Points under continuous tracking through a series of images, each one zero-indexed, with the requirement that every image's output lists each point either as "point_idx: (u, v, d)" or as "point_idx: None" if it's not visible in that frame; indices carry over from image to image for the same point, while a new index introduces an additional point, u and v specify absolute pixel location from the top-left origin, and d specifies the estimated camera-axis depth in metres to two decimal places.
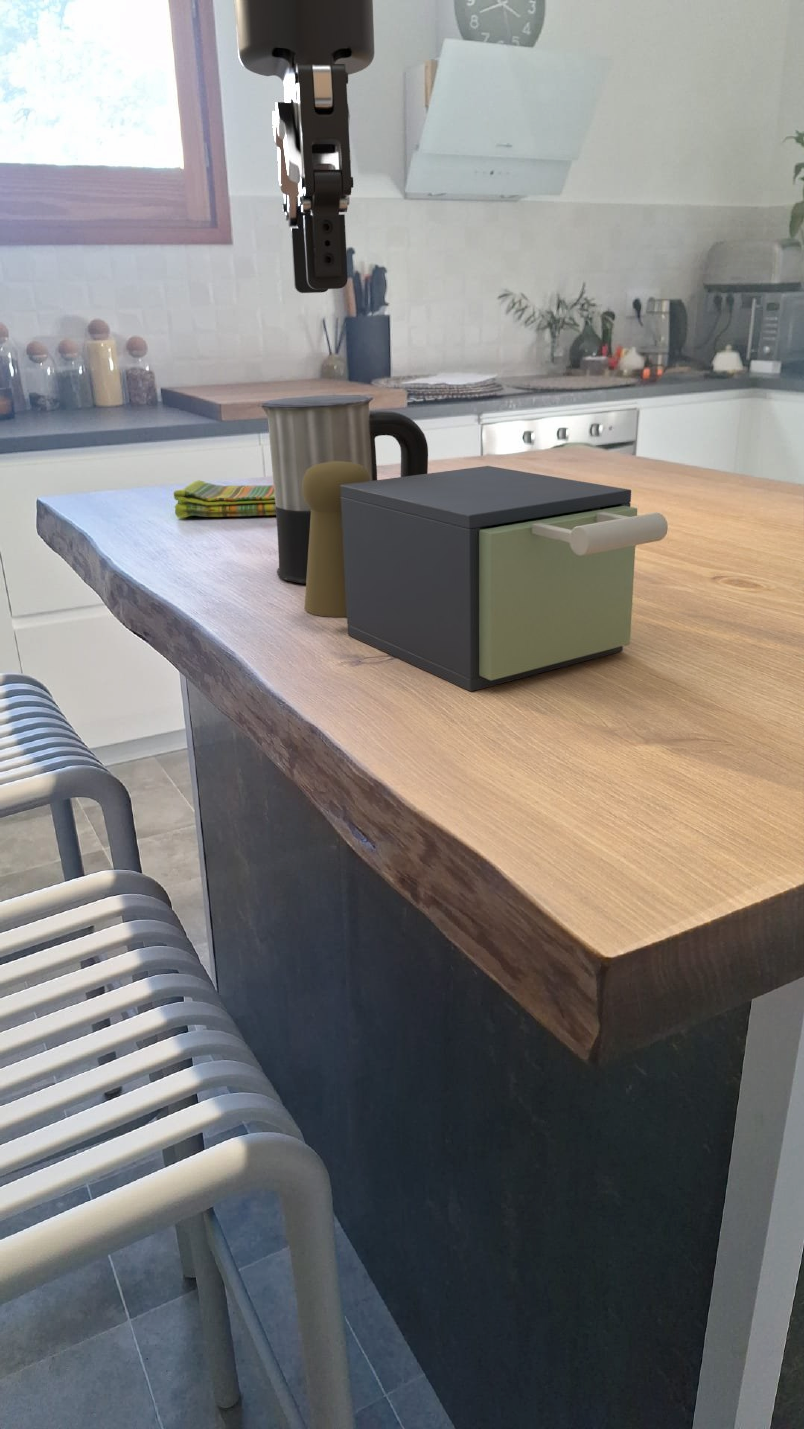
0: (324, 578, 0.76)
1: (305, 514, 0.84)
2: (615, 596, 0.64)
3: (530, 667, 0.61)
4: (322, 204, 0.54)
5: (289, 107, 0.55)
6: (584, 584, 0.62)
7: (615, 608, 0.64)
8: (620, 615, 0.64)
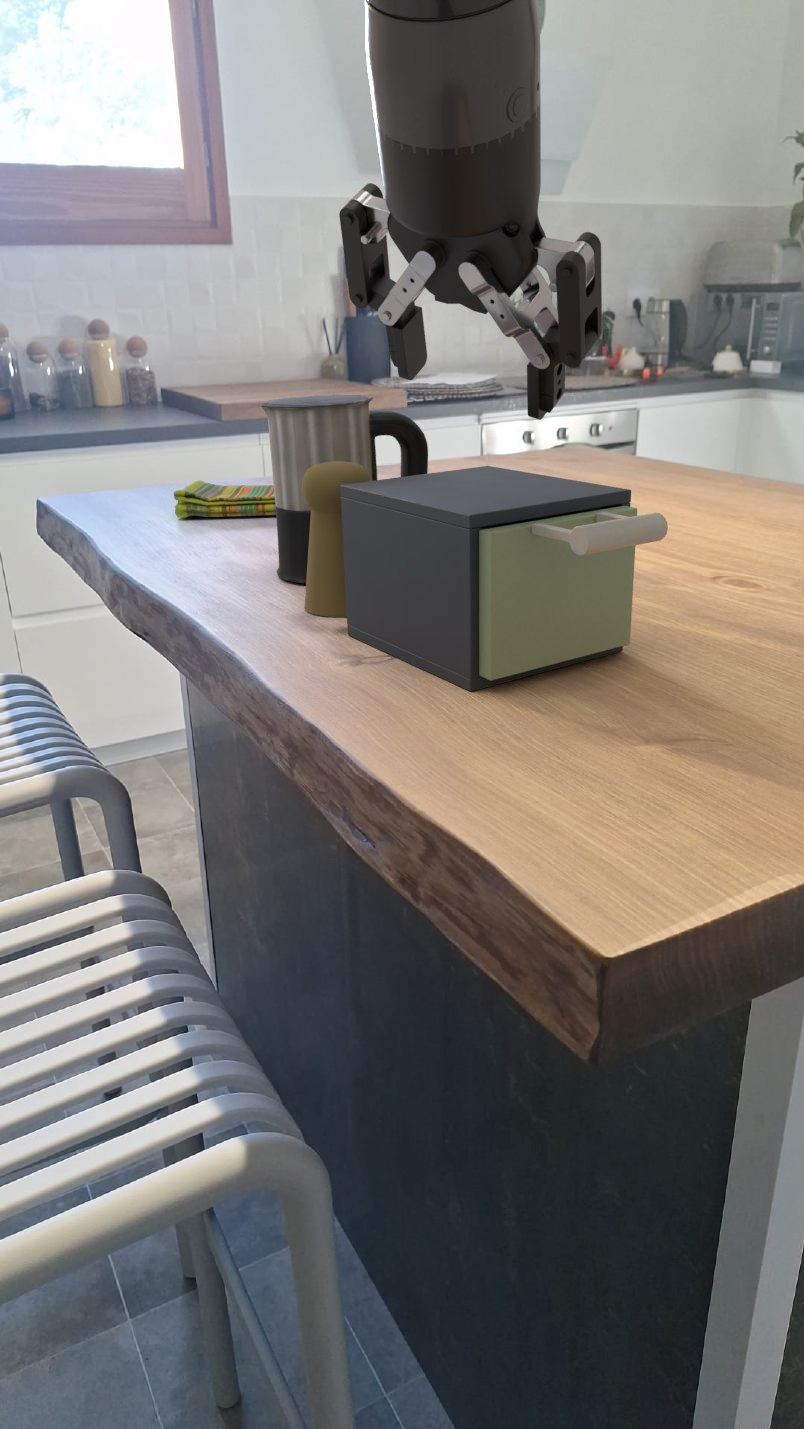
0: (324, 578, 0.76)
1: (305, 514, 0.84)
2: (615, 596, 0.64)
3: (530, 667, 0.61)
4: None
5: (485, 264, 0.50)
6: (584, 584, 0.62)
7: (615, 608, 0.64)
8: (620, 615, 0.64)
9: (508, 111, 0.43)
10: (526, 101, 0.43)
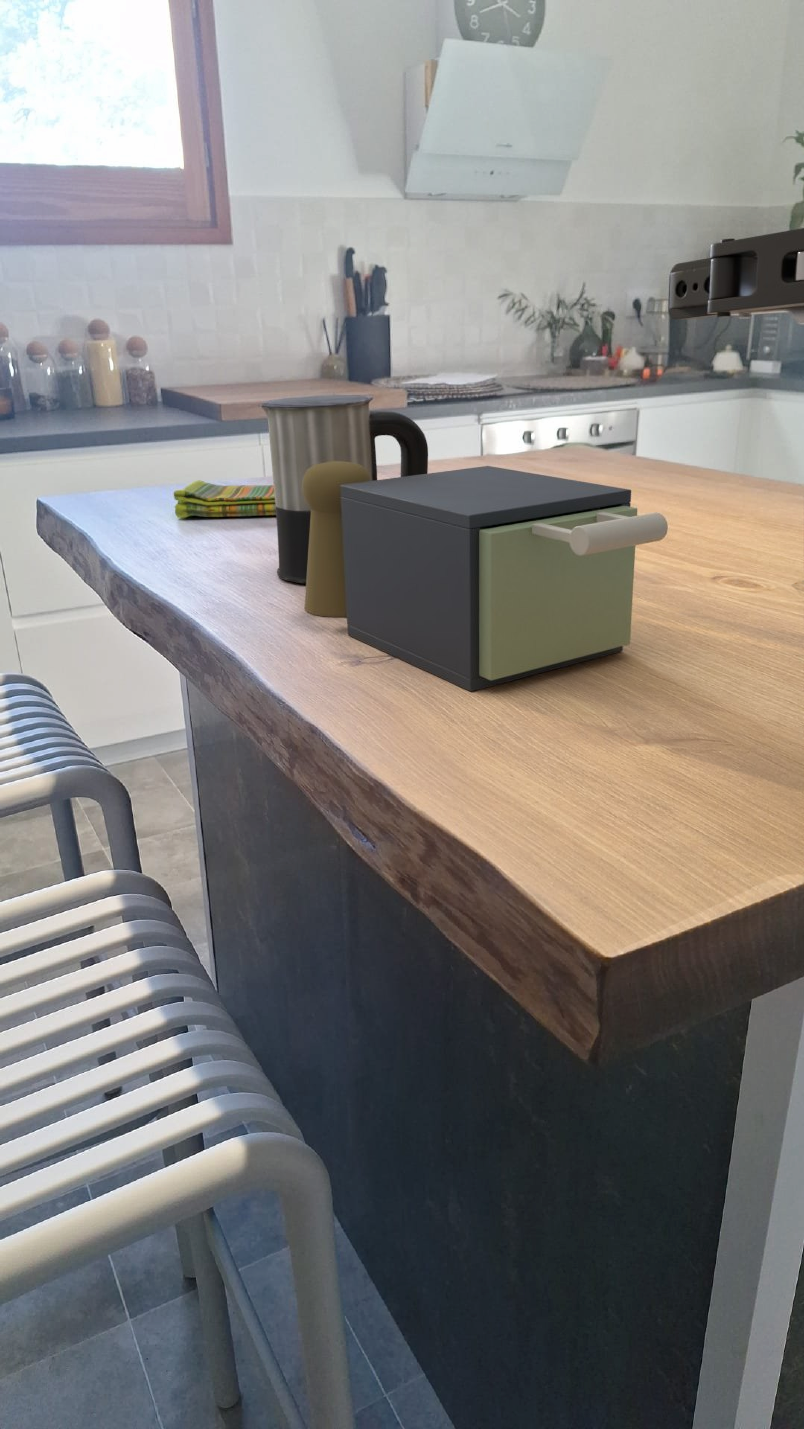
0: (324, 578, 0.76)
1: (305, 514, 0.84)
2: (615, 596, 0.64)
3: (530, 667, 0.61)
4: None
5: None
6: (584, 584, 0.62)
7: (615, 608, 0.64)
8: (620, 615, 0.64)
9: None
10: None
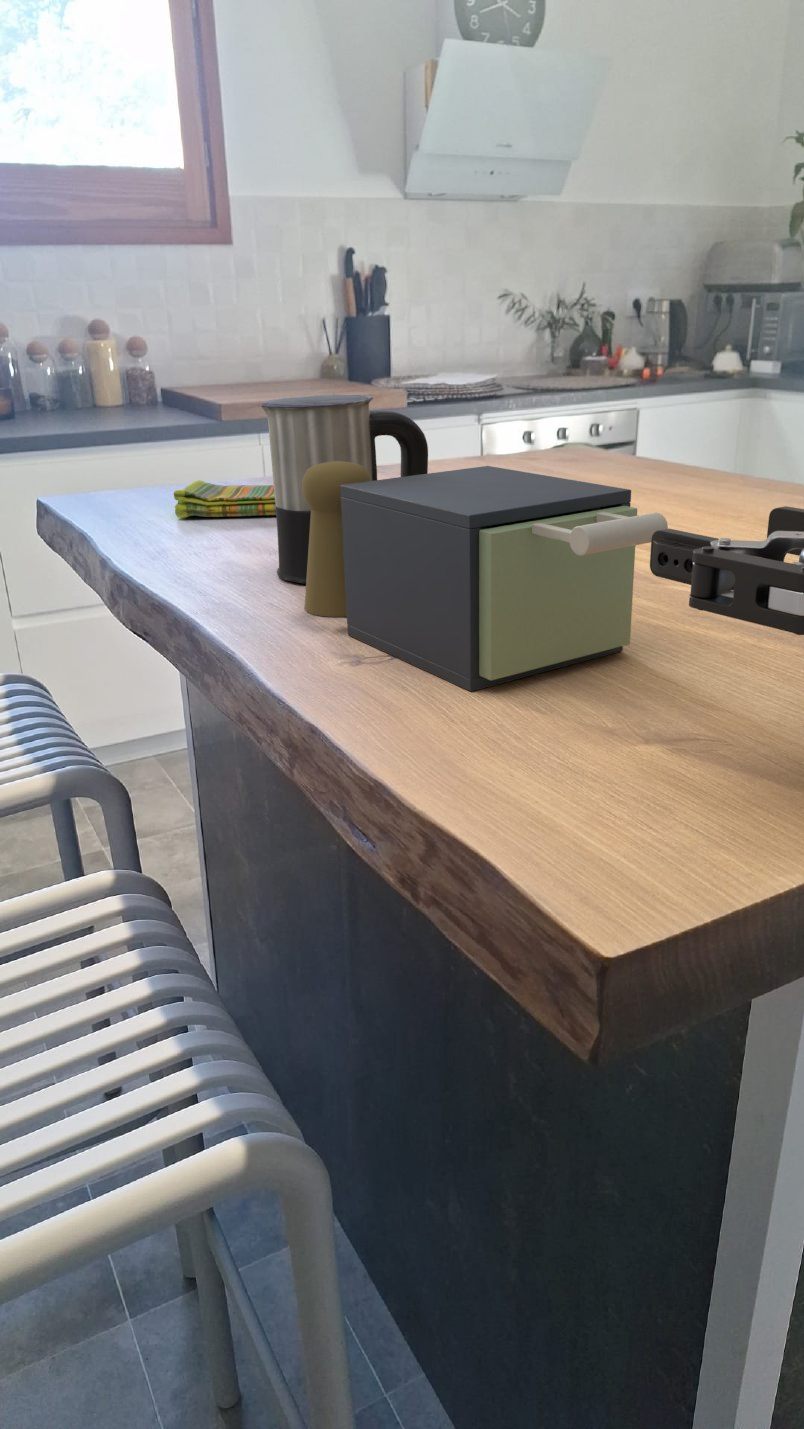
0: (324, 578, 0.76)
1: (305, 514, 0.84)
2: (615, 596, 0.64)
3: (530, 667, 0.61)
4: None
5: None
6: (584, 584, 0.62)
7: (615, 608, 0.64)
8: (620, 615, 0.64)
9: None
10: None
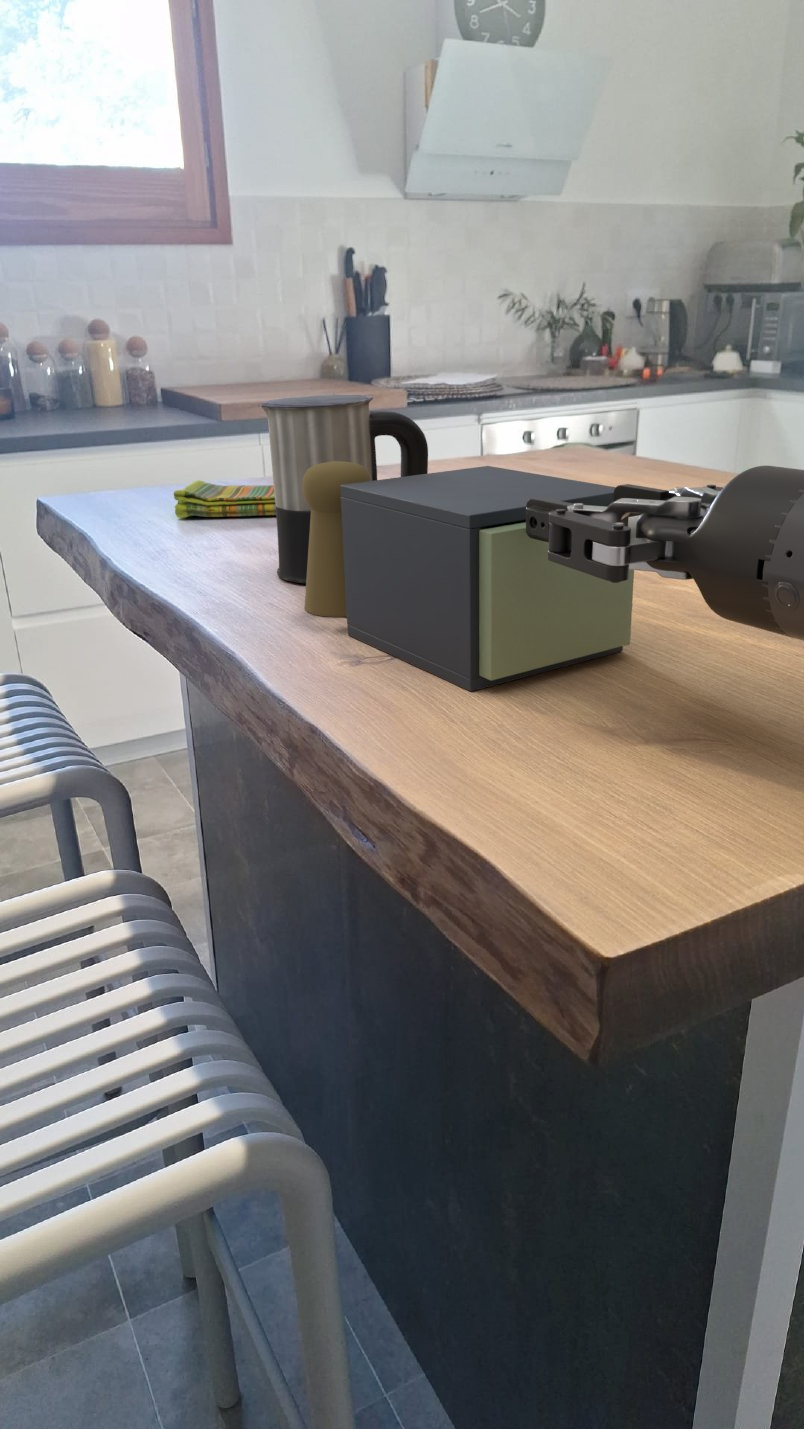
0: (325, 578, 0.76)
1: (305, 514, 0.84)
2: (615, 596, 0.64)
3: (530, 667, 0.61)
4: None
5: None
6: (584, 584, 0.62)
7: (615, 608, 0.64)
8: (620, 615, 0.64)
9: None
10: None
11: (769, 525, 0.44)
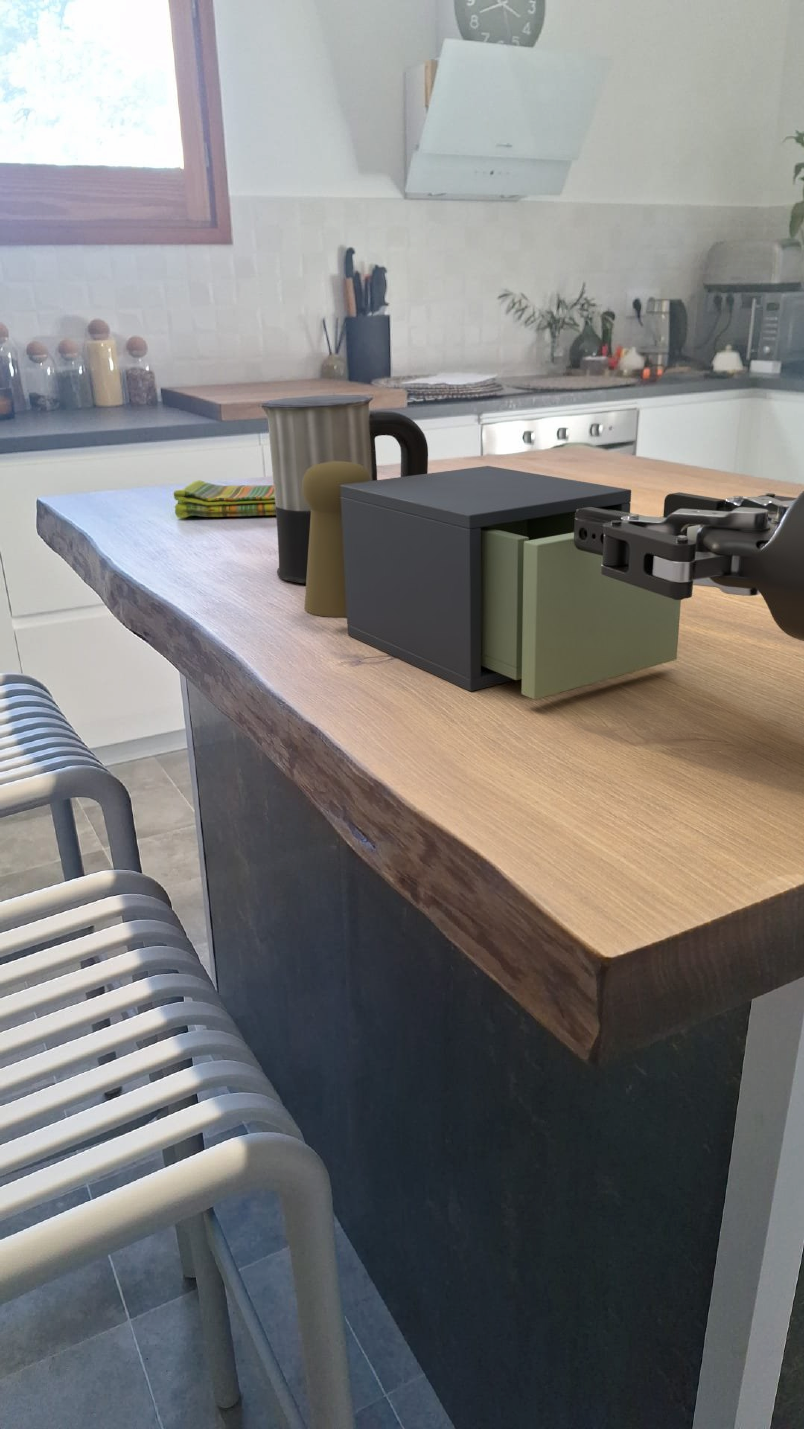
0: (324, 578, 0.76)
1: (305, 514, 0.84)
2: (662, 610, 0.61)
3: (575, 684, 0.58)
4: None
5: None
6: (631, 597, 0.59)
7: (662, 622, 0.61)
8: (667, 629, 0.61)
9: None
10: None
11: None
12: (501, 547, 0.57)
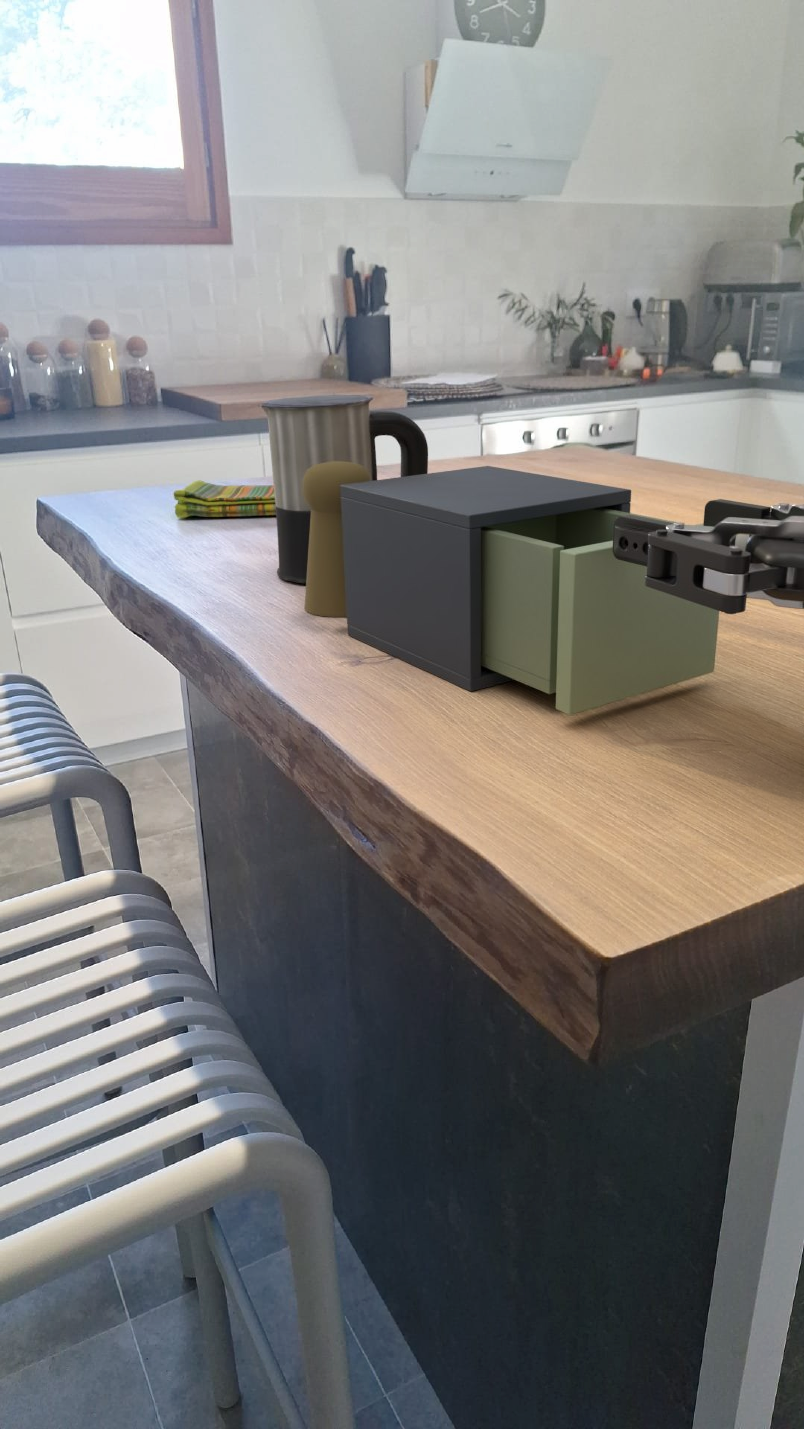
0: (325, 578, 0.76)
1: (305, 514, 0.84)
2: (701, 620, 0.58)
3: (611, 699, 0.56)
4: None
5: None
6: (669, 608, 0.57)
7: (700, 634, 0.59)
8: (705, 641, 0.59)
9: None
10: None
11: None
12: (535, 556, 0.55)
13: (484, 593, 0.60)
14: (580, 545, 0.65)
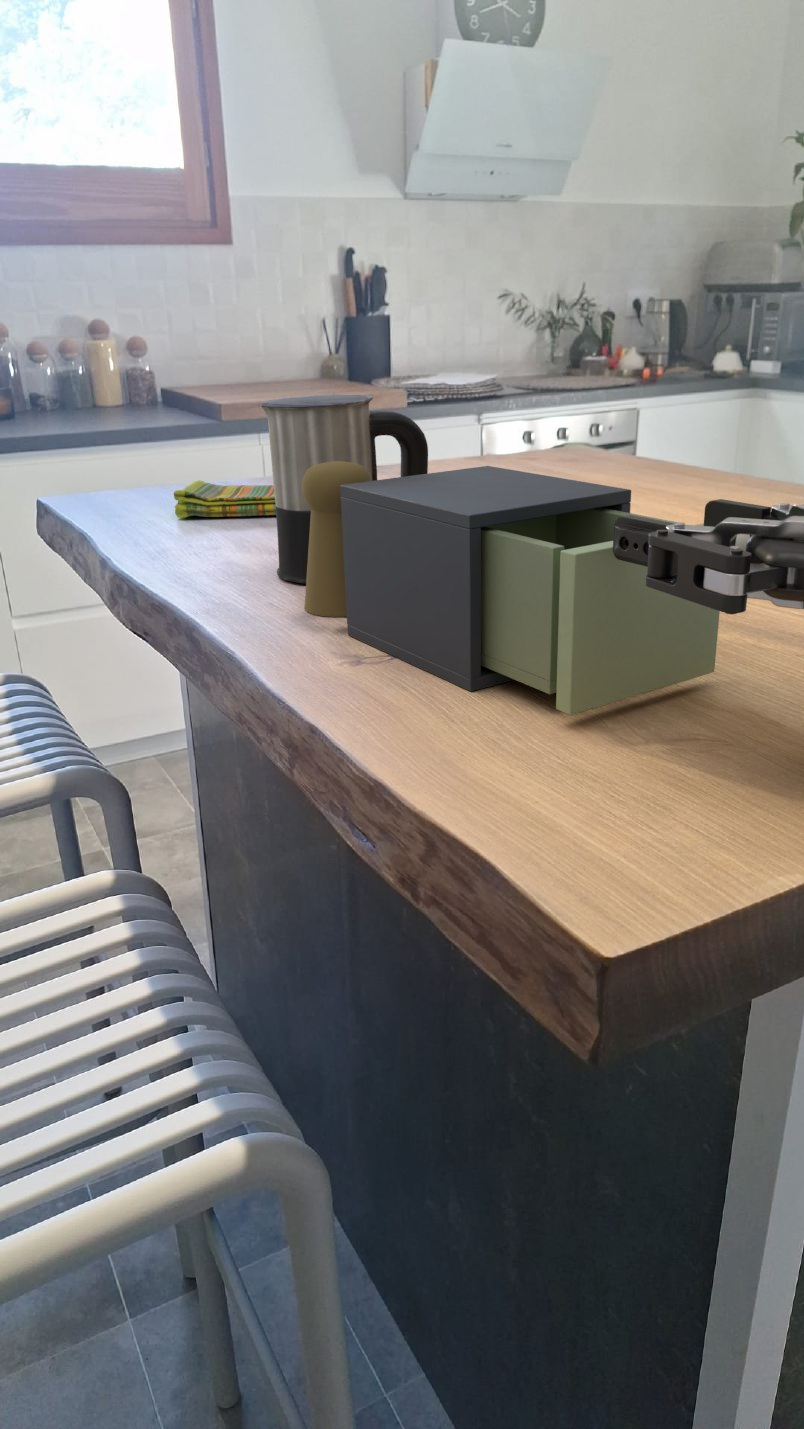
0: (324, 578, 0.76)
1: (305, 514, 0.84)
2: (701, 621, 0.58)
3: (611, 699, 0.56)
4: None
5: None
6: (670, 608, 0.57)
7: (701, 634, 0.59)
8: (706, 641, 0.59)
9: None
10: None
11: None
12: (535, 556, 0.55)
13: (484, 593, 0.60)
14: (580, 545, 0.65)
